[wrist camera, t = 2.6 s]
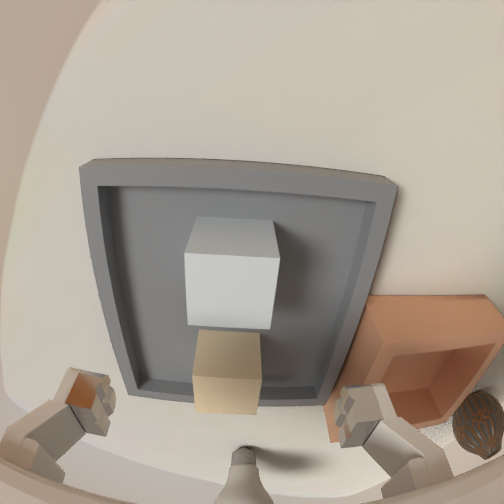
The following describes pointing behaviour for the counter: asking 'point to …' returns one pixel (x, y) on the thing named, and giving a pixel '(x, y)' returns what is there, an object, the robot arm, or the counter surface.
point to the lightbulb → (243, 481)
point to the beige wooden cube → (227, 372)
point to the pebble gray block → (231, 272)
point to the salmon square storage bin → (421, 353)
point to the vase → (479, 424)
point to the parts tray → (289, 274)
